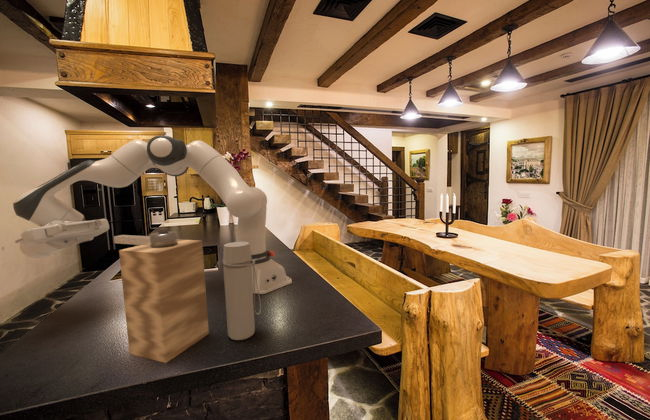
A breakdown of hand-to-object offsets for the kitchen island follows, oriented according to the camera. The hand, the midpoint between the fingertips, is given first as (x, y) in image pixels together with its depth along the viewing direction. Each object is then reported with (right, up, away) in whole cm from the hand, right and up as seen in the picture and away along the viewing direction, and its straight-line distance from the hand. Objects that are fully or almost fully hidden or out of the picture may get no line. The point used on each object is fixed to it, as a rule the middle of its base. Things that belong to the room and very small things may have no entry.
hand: (82, 224), depth 86 cm
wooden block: (+29, -31, -7) cm, 43 cm away
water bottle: (+47, -30, -4) cm, 56 cm away
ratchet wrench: (+22, -5, -8) cm, 24 cm away
